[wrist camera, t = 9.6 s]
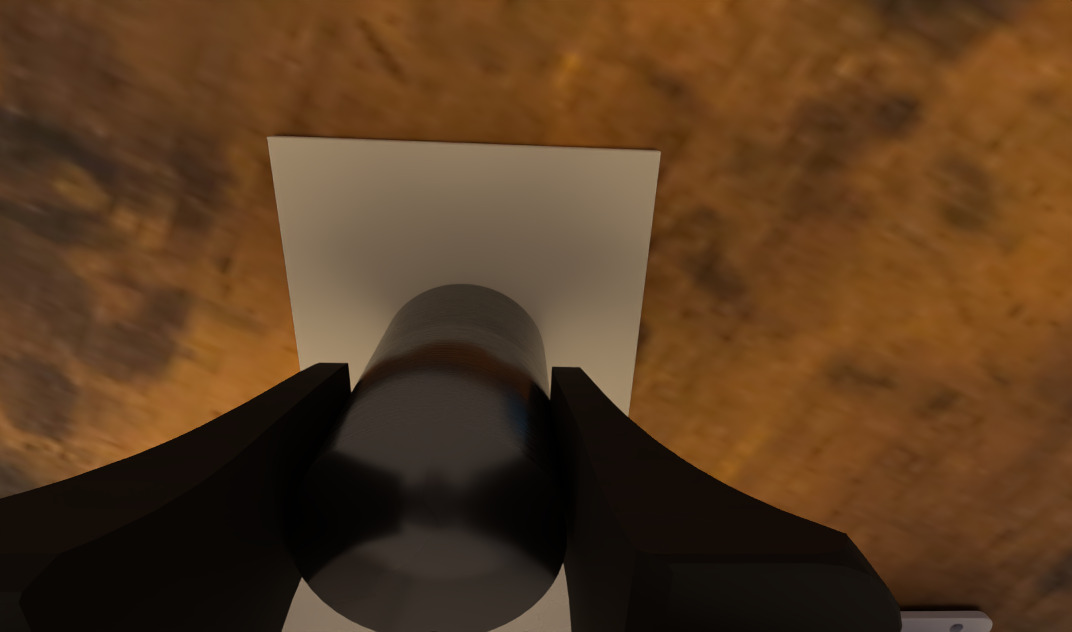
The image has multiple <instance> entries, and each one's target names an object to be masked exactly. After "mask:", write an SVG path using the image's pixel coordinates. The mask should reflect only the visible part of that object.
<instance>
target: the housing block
mask: <svg viewBox="0 0 1072 632" xmlns="http://www.w3.org/2000/svg"><path fill="white" fill-rule="evenodd" d="M282 632H376V631H373V630H371V629H368V628H365V627H363V626H361V625H359V624H356V623H354V622H352V621H350V620H348V619H347V618H345V617H344V616H342V615H340V614H339V613H337V612H336V611H334V610H333V609H332V608H330V607H329V606H328V605H327V604H325V603H324V602H323V601H322V600H321V599H320V598H319V597H318V596H317V595H316V594H315V593H314V592H313V591H312V590H311V589H310V587H309V586H308V585H307V583H306V582H305V581H304V579H303V578H301V581H300V583H299V586H298V588H297V590H296V593H295V595H294V598H293V600H292V603H291V606H290V609H289V612H288V615H287V617H286V620H285V623H284V626H283V629H282ZM488 632H571V621H570V608H569V597H568V590H567V582H566V576H565V570H564V565H563V564H562V567H561V569H560V572H559V574H558V576H557V578H556V579H555V581H554V583H553V585H552V586H551V587H550V589H549V590H548V591H547V592H546V594H545V595H544V596H543V597H542V598H541V599H540V600H539V601H538V602H537V603H536V604H535V605H534V606H533V607H532V608H530V609H529V610H528V611H526V612H525V613H524V614H522V615H521V616H519V617H518V618H516V619H514V620H513V621H511V622H509V623H507V624H505V625H503V626H501V627H498V628H496V629H494V630H491V631H488Z"/></svg>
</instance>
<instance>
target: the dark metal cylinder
mask: <svg viewBox="0 0 1072 632" xmlns="http://www.w3.org/2000/svg"><path fill="white" fill-rule="evenodd" d="M567 534H568V533H567V525H566V517H565V509H564V501H563V493H562V485H561V477H560V469H559V461H558V453H557V446H556V440H555V434H554V428H553V421H552V413H551V405H550V389H549V382H548V374H547V366H546V358H545V350H544V344H543V341H542V337H541V335H540V332H539V330H538V328H537V326H536V324H535V323H534V321H533V319H532V318H531V317H530V316H529V314H528V313H527V312H526V311H525V310H524V309H523V308H522V307H521V306H520V305H519V304H518V303H516V302H515V301H514V300H512V299H511V298H509V297H508V296H506V295H504V294H502V293H500V292H498V291H495V290H493V289H490V288H487V287H483V286H479V285H472V284H450V285H443V286H439V287H436V288H432V289H430V290H427V291H425V292H423V293H421V294H419V295H417V296H416V297H414V298H413V299H411V300H410V301H409V302H407V303H406V304H405V305H404V306H403V307H402V308H401V309H400V310H399V311H398V312H397V314H396V315H395V316H394V318H393V319H392V321H391V322H390V324H389V326H388V328H387V330H386V331H385V333H384V335H383V337H382V339H381V340H380V342H379V344H378V346H377V348H376V349H375V351H374V353H373V355H372V357H371V358H370V360H369V362H368V364H367V366H366V367H365V369H364V371H363V373H362V375H361V376H360V378H359V380H358V382H357V383H356V385H355V387H354V389H353V391H352V392H351V394H350V396H349V398H348V400H347V401H346V403H345V405H344V407H343V409H342V410H341V412H340V414H339V416H338V418H337V419H336V421H335V423H334V425H333V427H332V428H331V430H330V432H329V434H328V436H327V437H326V439H325V441H324V443H323V445H322V446H321V448H320V450H319V452H318V453H317V455H316V457H315V459H314V461H313V462H312V464H311V466H310V468H309V470H308V471H307V473H306V475H305V477H304V479H303V480H302V482H301V484H300V486H299V488H298V490H297V491H296V493H295V495H294V498H293V501H292V504H291V507H290V511H289V518H288V541H289V546H290V551H291V554H292V557H293V559H294V562H295V565H296V567H297V569H298V571H299V572H300V574H301V576H302V578H303V579H304V581H305V582H306V583H307V585H308V586H309V587H310V589H311V590H312V591H313V592H314V593H315V594H316V595H317V596H318V597H319V598H320V599H321V600H322V601H323V602H324V603H325V604H327V605H328V606H329V607H330V608H332V609H333V610H334V611H336V612H337V613H339V614H340V615H342V616H344V617H345V618H347V619H348V620H350V621H352V622H354V623H356V624H359V625H361V626H363V627H365V628H368V629H371V630H373V631H376V632H488V631H491V630H494V629H496V628H498V627H501V626H503V625H505V624H507V623H509V622H511V621H513V620H514V619H516V618H518V617H519V616H521V615H522V614H524V613H525V612H526V611H528V610H529V609H530V608H532V607H533V606H534V605H535V604H536V603H537V602H538V601H539V600H540V599H541V598H542V597H543V596H544V595H545V594H546V592H547V591H548V590H549V589H550V587H551V586H552V585H553V583H554V581H555V579H556V578H557V576H558V574H559V572H560V569H561V567H562V564H563V562H564V558H565V553H566V549H567Z"/></svg>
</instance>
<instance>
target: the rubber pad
mask: <svg viewBox="0 0 1072 632" xmlns="http://www.w3.org/2000/svg"><path fill="white" fill-rule="evenodd" d="M267 140H268V147H269V154H270V161H271V168H272V175H273V182H274V189H275V196H276V203H277V210H278V217H279V224H280V231H281V238H282V245H283V252H284V259H285V266H286V273H287V280H288V287H289V294H290V301H291V308H292V315H293V322H294V329H295V336H296V343H297V350H298V357H299V364H300V371H302V370H304V369H306V368H308V367H310V366H312V365H314V364H317V363H348V366H349V375H350V385H351V392H352V391H353V389H354V387H355V385H356V383H357V382H358V380H359V378H360V376H361V375H362V373H363V371H364V369H365V367H366V366H367V364H368V362H369V360H370V358H371V357H372V355H373V353H374V351H375V349H376V348H377V346H378V344H379V342H380V340H381V339H382V337H383V335H384V333H385V331H386V330H387V328H388V326H389V324H390V322H391V321H392V319H393V318H394V316H395V315H396V314H397V312H398V311H399V310H400V309H401V308H402V307H403V306H404V305H405V304H406V303H407V302H409V301H410V300H411V299H413V298H414V297H416V296H417V295H419V294H421V293H423V292H425V291H427V290H430V289H432V288H436V287H439V286H443V285H450V284H472V285H479V286H483V287H487V288H490V289H493V290H495V291H498V292H500V293H502V294H504V295H506V296H508V297H509V298H511V299H512V300H514V301H515V302H516V303H518V304H519V305H520V306H521V307H522V308H523V309H524V310H525V311H526V312H527V313H528V314H529V316H530V317H531V318H532V319H533V321H534V323H535V324H536V326H537V328H538V330H539V332H540V335H541V337H542V341H543V344H544V350H545V358H546V366H547V374H548V382H549V389H550V391H551V373H552V367H580V368H581V369H582V370H583V371H584V372H585V373H586V374H587V375H588V376H589V377H590V378H591V380H592V381H593V382H594V383H595V384H596V385H597V386H598V387H599V388H600V389H601V391H602V392H603V393H604V394H605V395H606V396H607V397H608V398H609V399H610V400H611V401H612V402H613V403H614V404H615V405H616V406H617V407H618V408H619V409H620V410H621V411H622V412H623V413H624V414H625V415H626V416H628V415H629V407H630V399H631V391H632V382H633V374H634V366H635V358H636V350H637V342H638V334H639V326H640V318H641V309H642V301H643V293H644V285H645V277H646V269H647V261H648V253H649V245H650V236H651V228H652V220H653V212H654V204H655V196H656V188H657V180H658V172H659V163H660V155H661V152H660V151H658V150H636V149H610V148H584V147H558V146H532V145H505V144H479V143H453V142H427V141H401V140H375V139H348V138H322V137H296V136H269V137H267Z"/></svg>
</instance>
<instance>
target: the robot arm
mask: <svg viewBox="0 0 1072 632" xmlns="http://www.w3.org/2000/svg"><path fill="white" fill-rule="evenodd" d="M350 394H351V385H350V375H349V366H348V363H317V364H314V365H312V366H310V367H308V368H306V369H304V370H302V371H301V372H299V373H297V374H295V375H293V376H292V377H290V378H288V379H286V380H285V381H283V382H281V383H279V384H278V385H276V386H274V387H272V388H271V389H269V390H267V391H265V392H264V393H262V394H260V395H258V396H257V397H255V398H253V399H251V400H250V401H248V402H246V403H244V404H242V405H241V406H239V407H237V408H235V409H233V410H231V411H229V412H227V413H225V414H223V415H221V416H219V417H218V418H216V419H214V420H212V421H210V422H208V423H206V424H204V425H202V426H200V427H198V428H196V429H194V430H192V431H190V432H188V433H185V434H183V435H181V436H179V437H177V438H174V439H172V440H170V441H167V442H165V443H163V444H160V445H158V446H156V447H153V448H151V449H149V450H146V451H144V452H141V453H139V454H136V455H134V456H131V457H128V458H125V459H123V460H120V461H117V462H114V463H111V464H109V465H106V466H103V467H100V468H97V469H94V470H92V471H89V472H86V473H83V474H80V475H78V476H75V477H72V478H69V479H66V480H63V481H59V482H56V483H53V484H49V485H46V486H43V487H40V488H36V489H33V490H30V491H26V492H23V493H19V494H15V495H12V496H8V497H5V498H1V499H0V632H282V629H283V626H284V623H285V620H286V617H287V615H288V612H289V609H290V606H291V603H292V600H293V598H294V595H295V593H296V590H297V588H298V586H299V583H300V581H301V578H302V576H301V574H300V572H299V571H298V569H297V567H296V565H295V562H294V559H293V557H292V554H291V551H290V546H289V541H288V518H289V511H290V507H291V504H292V501H293V498H294V495H295V493H296V491H297V490H298V488H299V486H300V484H301V482H302V480H303V479H304V477H305V475H306V473H307V471H308V470H309V468H310V466H311V464H312V462H313V461H314V459H315V457H316V455H317V453H318V452H319V450H320V448H321V446H322V445H323V443H324V441H325V439H326V437H327V436H328V434H329V432H330V430H331V428H332V427H333V425H334V423H335V421H336V419H337V418H338V416H339V414H340V412H341V410H342V409H343V407H344V405H345V403H346V401H347V400H348V398H349V396H350ZM550 405H551V413H552V421H553V428H554V434H555V440H556V446H557V453H558V461H559V469H560V477H561V485H562V493H563V501H564V509H565V517H566V525H567V533H568V534H567V549H566V553H565V558H564V562H563V565H564V570H565V576H566V582H567V590H568V597H569V608H570V621H571V632H990V630H991V628H992V624H993V623H992V620H991V619H990V618H989V617H988V616H987V615H986V614H985V613H984V612H981V611H900V606H899V605H898V603H897V601H896V600H895V598H894V597H893V595H892V593H891V592H890V590H889V589H888V587H887V586H886V585H885V583H884V582H883V581H882V579H881V578H880V577H879V575H878V574H877V573H876V571H875V570H874V569H873V567H872V566H871V564H870V563H869V562H868V561H867V559H866V558H865V557H864V555H863V554H862V553H861V552H860V550H859V549H858V548H857V546H856V545H855V544H854V543H853V542H852V540H851V539H850V538H849V537H848V536H847V534H845V533H842V532H840V531H837V530H834V529H831V528H829V527H826V526H823V525H820V524H818V523H815V522H812V521H810V520H807V519H804V518H801V517H799V516H796V515H793V514H790V513H788V512H785V511H782V510H780V509H778V508H775V507H773V506H771V505H769V504H766V503H764V502H762V501H760V500H757V499H755V498H753V497H751V496H749V495H746V494H744V493H742V492H740V491H738V490H736V489H734V488H732V487H730V486H728V485H726V484H724V483H723V482H721V481H719V480H717V479H715V478H714V477H712V476H710V475H708V474H707V473H705V472H703V471H701V470H699V469H698V468H696V467H694V466H693V465H691V464H690V463H688V462H686V461H685V460H683V459H682V458H680V457H679V456H677V455H676V454H675V453H673V452H672V451H670V450H669V449H667V448H666V447H664V446H663V445H662V444H660V443H659V442H658V441H656V440H655V439H654V438H652V437H651V436H650V435H648V434H647V433H646V432H645V431H644V430H643V429H641V428H640V427H639V426H638V425H637V424H635V423H634V422H633V421H632V420H631V419H630V418H629V417H628V416H626V415H625V414H624V413H623V412H622V411H621V410H620V409H619V408H618V407H617V406H616V405H615V404H614V403H613V402H612V401H611V400H610V399H609V398H608V397H607V396H606V395H605V394H604V393H603V392H602V391H601V389H600V388H599V387H598V386H597V385H596V384H595V383H594V382H593V381H592V380H591V378H590V377H589V376H588V375H587V374H586V373H585V372H584V371H583V370H582V369H581V368H580V367H552V373H551V391H550Z"/></svg>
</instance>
